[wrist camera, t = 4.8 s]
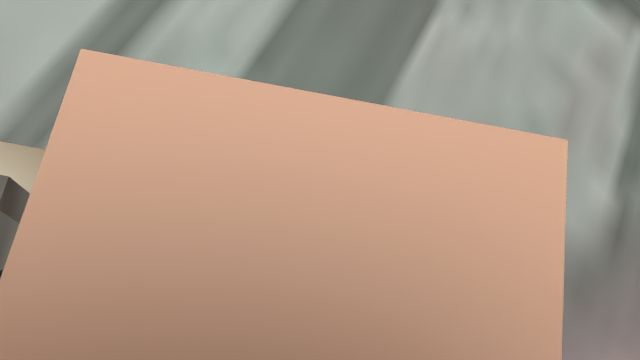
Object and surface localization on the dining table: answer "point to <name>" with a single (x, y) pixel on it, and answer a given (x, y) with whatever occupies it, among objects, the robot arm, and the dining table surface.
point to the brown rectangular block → (280, 228)
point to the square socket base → (15, 189)
